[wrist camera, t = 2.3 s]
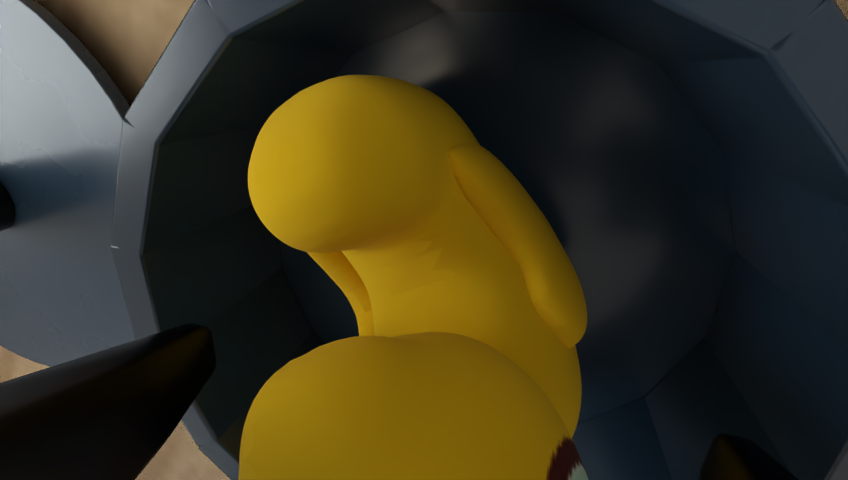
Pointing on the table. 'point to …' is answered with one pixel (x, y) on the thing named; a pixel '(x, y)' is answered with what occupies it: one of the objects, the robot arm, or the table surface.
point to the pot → (537, 203)
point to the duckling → (414, 299)
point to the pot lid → (57, 192)
